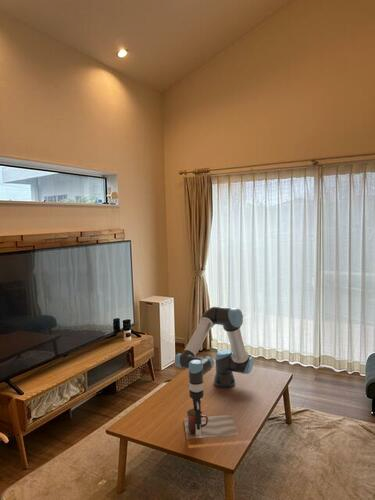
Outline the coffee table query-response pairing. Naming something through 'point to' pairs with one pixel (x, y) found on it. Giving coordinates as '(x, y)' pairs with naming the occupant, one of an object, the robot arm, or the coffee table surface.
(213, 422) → the board
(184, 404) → the coffee table surface
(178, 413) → the coffee table surface
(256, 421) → the coffee table surface
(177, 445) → the coffee table surface
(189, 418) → the mug
